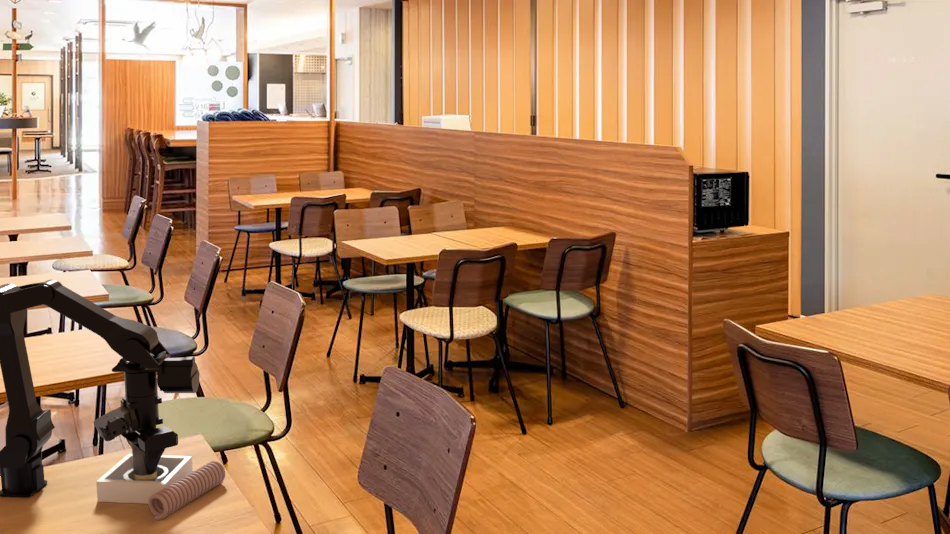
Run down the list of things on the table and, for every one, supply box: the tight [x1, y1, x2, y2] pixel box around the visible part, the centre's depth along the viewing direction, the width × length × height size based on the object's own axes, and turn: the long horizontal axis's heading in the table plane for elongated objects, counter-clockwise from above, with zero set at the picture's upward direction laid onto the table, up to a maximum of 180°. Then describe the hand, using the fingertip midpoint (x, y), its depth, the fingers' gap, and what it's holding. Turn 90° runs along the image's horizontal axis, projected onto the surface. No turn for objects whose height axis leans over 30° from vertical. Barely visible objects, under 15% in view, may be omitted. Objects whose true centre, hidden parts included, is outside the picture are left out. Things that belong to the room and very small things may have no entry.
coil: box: [148, 460, 226, 521], centre depth 159 cm, size 5×5×18 cm
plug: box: [131, 438, 158, 480], centre depth 163 cm, size 4×4×8 cm
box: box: [95, 453, 194, 505], centre depth 164 cm, size 13×13×4 cm
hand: (145, 470), depth 163 cm, fingers closed on plug, 4 cm apart
